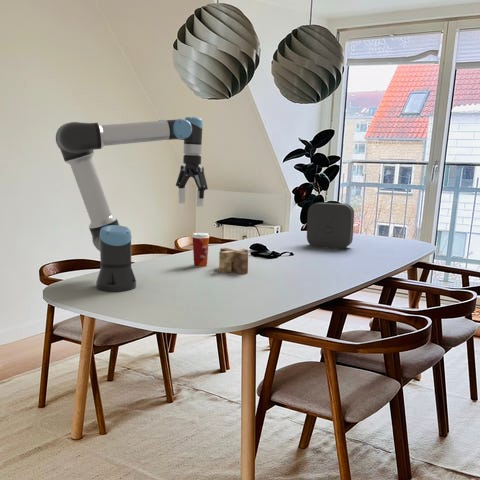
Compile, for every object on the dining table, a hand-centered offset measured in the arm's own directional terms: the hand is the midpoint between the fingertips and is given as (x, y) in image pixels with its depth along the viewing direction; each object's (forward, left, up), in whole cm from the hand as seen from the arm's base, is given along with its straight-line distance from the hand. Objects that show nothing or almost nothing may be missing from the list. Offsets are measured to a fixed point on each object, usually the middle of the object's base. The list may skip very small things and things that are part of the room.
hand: (190, 204), depth 231 cm
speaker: (+102, +8, -30) cm, 106 cm away
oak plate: (+19, -7, -30) cm, 36 cm away
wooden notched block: (+19, -7, -30) cm, 36 cm away
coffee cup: (+13, +10, -30) cm, 34 cm away
